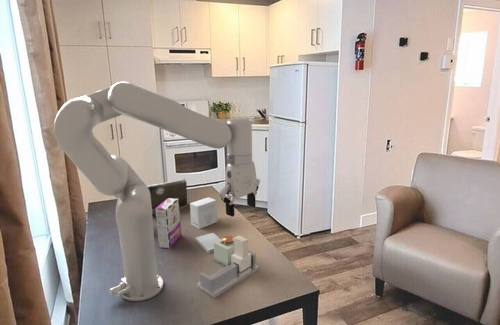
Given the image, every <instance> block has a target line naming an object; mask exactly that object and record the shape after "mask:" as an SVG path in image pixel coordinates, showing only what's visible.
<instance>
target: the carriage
mask: <svg viewBox="0 0 500 325" xmlns="http://www.w3.org/2000/svg"><path fill="white" fill-rule="evenodd" d="M233 238H234V254H233V255H231V261H232V264H233V263H237V264H239V271H240V272H242V271H243V270H245V269H246V268H248V267H250V266H251V254H250V253H248V251H249V238H248V237H247V238H246V237H244V236H241V235H240V234H239V235H237V236H235V237H233Z"/></svg>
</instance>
